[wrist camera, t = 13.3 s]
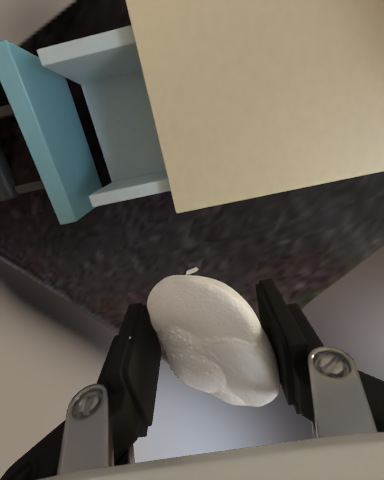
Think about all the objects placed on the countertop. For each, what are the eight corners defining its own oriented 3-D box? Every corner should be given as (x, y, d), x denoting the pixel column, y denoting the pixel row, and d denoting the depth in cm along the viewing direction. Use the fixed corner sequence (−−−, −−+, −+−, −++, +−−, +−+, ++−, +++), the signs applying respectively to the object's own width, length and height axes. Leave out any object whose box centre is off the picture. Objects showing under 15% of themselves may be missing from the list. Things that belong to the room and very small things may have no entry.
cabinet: (180, 188, 24) (176, 213, 16) (148, 43, 20) (120, -19, 12) (326, 158, 23) (397, 168, 15) (324, -1, 19) (420, -100, 11)
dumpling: (277, 337, 14) (292, 424, 10) (185, 345, 15) (173, 424, 12) (249, 230, 10) (258, 314, 7) (131, 255, 11) (93, 334, 8)
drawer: (44, 212, 24) (-8, 239, 18) (-10, 88, 20) (-100, 66, 14) (227, 173, 23) (242, 187, 17) (206, 34, 19) (214, -17, 13)
